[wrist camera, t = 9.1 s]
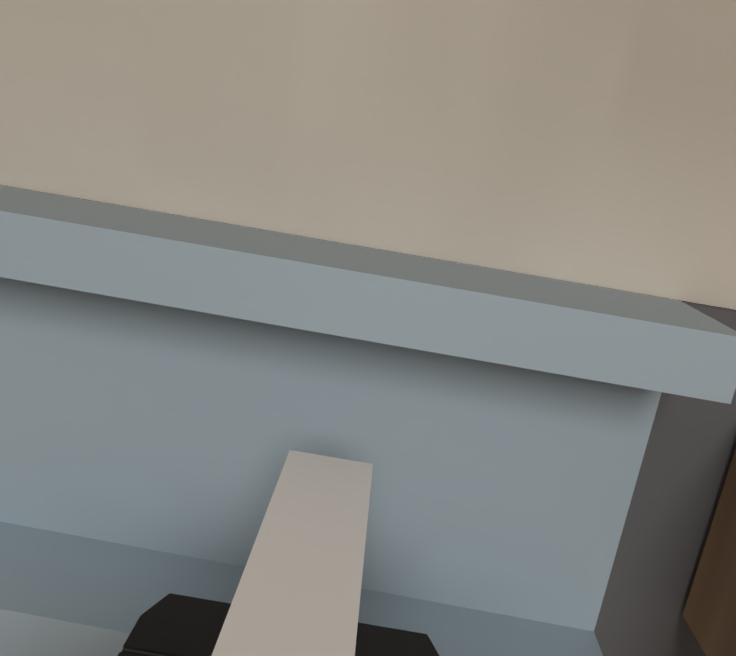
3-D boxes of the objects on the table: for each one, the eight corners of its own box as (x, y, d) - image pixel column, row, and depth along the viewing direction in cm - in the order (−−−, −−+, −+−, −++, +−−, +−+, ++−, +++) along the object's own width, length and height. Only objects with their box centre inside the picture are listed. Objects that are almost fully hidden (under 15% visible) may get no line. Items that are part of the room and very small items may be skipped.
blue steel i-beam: (-36, 546, 18) (-137, 631, 15) (-32, 179, 15) (-149, 184, 12) (578, 661, 17) (615, 775, 14) (679, 300, 15) (750, 339, 12)
